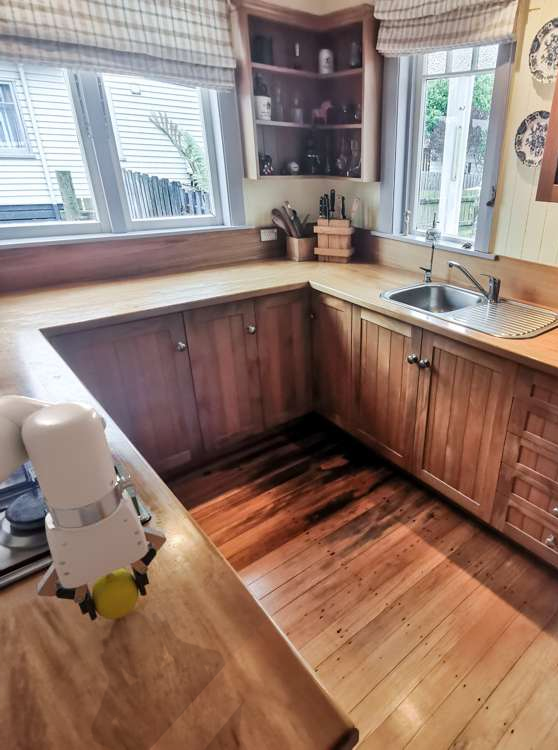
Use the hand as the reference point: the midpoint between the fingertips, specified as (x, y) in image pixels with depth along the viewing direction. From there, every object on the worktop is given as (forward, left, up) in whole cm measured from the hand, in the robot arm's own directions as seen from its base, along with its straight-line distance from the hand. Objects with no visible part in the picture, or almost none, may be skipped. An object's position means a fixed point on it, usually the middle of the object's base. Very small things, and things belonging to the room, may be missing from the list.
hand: (117, 599), depth 64 cm
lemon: (0, 0, -3) cm, 3 cm away
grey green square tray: (+1, +24, -3) cm, 24 cm away
